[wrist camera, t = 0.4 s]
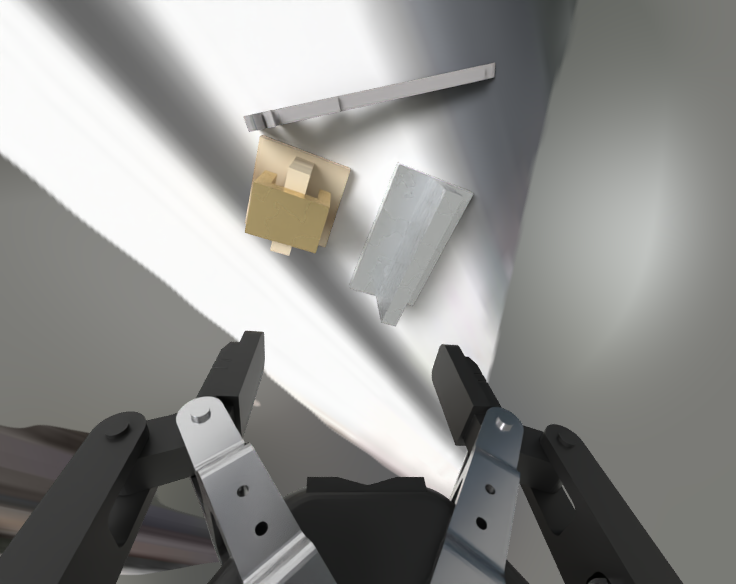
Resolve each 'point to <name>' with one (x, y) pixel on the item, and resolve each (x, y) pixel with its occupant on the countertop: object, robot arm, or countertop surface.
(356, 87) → the countertop surface
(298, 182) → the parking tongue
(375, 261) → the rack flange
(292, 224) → the u clip
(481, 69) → the caliper
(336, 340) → the countertop surface
